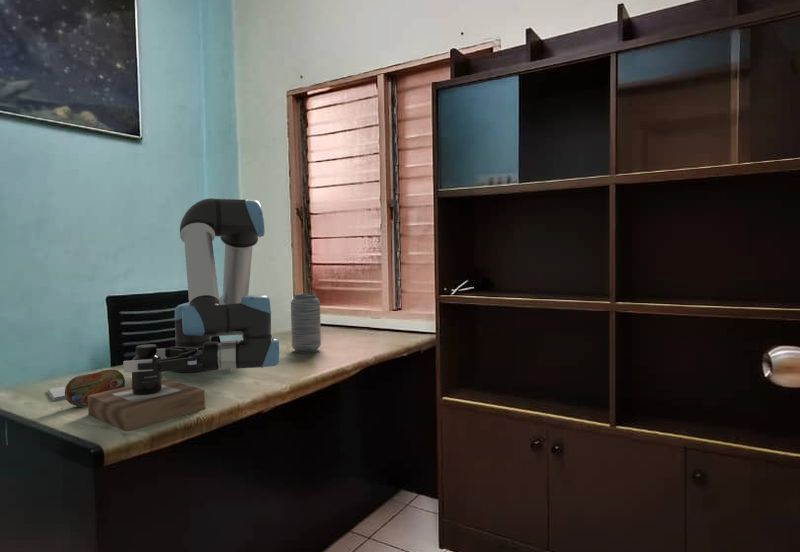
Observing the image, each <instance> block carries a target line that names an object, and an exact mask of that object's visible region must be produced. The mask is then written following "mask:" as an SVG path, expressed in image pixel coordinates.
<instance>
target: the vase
mask: <svg viewBox="0 0 800 552" xmlns="http://www.w3.org/2000/svg"><path fill="white" fill-rule="evenodd" d="M290 329H291V347H292V349H293V350H295V353H298V354H311V353H316V352H317V351H318V349H319V348H320V347H321V345H322V336H321V335H322V334H321V333H322V332H321V301H320V299H319V298H318V297H317V294H315V293H298V294H294V297H293V299H292V300H291V302H290Z"/></svg>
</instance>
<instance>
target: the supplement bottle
mask: <svg viewBox="0 0 800 552" xmlns="http://www.w3.org/2000/svg"><path fill="white" fill-rule="evenodd" d="M157 349H158V348H157V344H152V343H151V344H150V343H149V344H140V345H137V346H135V354H136V355H135V356H134V357H133V358H132V360H149V359H152V358H156V360H159V359H161V358H160V356H158V355H157V354H156V352H157ZM162 379H163V378H162V372H159V373H154V371H142V372H131V386H132V392H133V393H134V394H136V395H148V394H154V393H157V392H159V391H160V390H161V389H162Z"/></svg>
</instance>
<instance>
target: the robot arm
mask: <svg viewBox="0 0 800 552" xmlns="http://www.w3.org/2000/svg"><path fill="white" fill-rule="evenodd" d="M265 232H266V231H265V219H264V213H263V210H262V205H261V203H260V202H259V201H258V200H256V199H247V198H244V199H238V198H237V199H235V198H215V197H214V198H205V199H202V200H199V201H196V203H193V205H192V206H191V207H189V208H188V209H187V210H186V212H185V213H184V215H183V217H182V219H181V222H180V225H179V238H180V240H181V241H182V243H184V252H185V253H184V255H185V267H186V269H185V270H186V279H187V280H186V281H187V292H188V302H185V303H182V304H178V305H177V306H175V308H174V319H173V320H174V330H175V334H174V336H175V337H174V338H175V346H174V345H173V346H170V347H167V348H157V352H156V354H157V355H158V356H160V358H161V359H159V360H156V358H152V359H149V360H133V359H131V360H124V361H123V363H122V364H123V373H124V374H126V373H132V372H142V371H154V373H159V372H161V373H164V372H171V371H172V372H174V373H197V372H198V373H199V372H204V371H205V372H206V371H207V372H209V371H210V372H211V371H218V370H220V369H221V370H223V371H224V370H229V371H230V372H233V371H234V370H235V369H254V368H255V369H256V368H261V369H264V368H268V367H275V366H278V364H279V363H280V339H278V338H274V337H272V336H273V335H272V310H271V308H272V307H271V299H270V298H269V296H268V295H265V294H253V295H252V294H251V295H250V294H249V291H250V282H251V281H250V279H251V269H252V268H251V267H252V258H253V247H254V246H255V245H257V243H258V241H259V238H262V237H264V236H265ZM215 237H220V240H221V242H222V243H223V244H224V258H223V259H224V262H223V263H224V264H223V282H222V283H223V284H222V295H220V294H219V287H218V286H219V285H218V278H217V269H216V262H215V254H214V253H215V252H214V245H213V244H214V243H213V241H214V240H215ZM219 295H220V296H219ZM237 335H238V336H242V339H241V340H238V339H237V340H221V342H219V341H212V338H213V337H223V336H226V337H227V336H237Z"/></svg>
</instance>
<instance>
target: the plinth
mask: <svg viewBox="0 0 800 552" xmlns="http://www.w3.org/2000/svg"><path fill="white" fill-rule="evenodd" d="M205 397H206V396H205V389H203V388H201V387H196V386H194V385H189V384H186V383H183V382H178V381H175V380H171V379H168V378H162V389H161V390H160V391H159V392H157V393H154V394H148V395H136V394H134V393H133V392H132V385H128V386H124V387H123V388H119V389H114V390H110V391H105V392H101V393H96V394H92V395H88V406H87V410H88V411H87V413H88V414H87V415H88V416H91V417H93V418H95V419H97V420H99V421H102V422H104V423H106V424H108V425H112V426H114V427H115V428H118V429H121V430H122V431H125V432H129V431H133V430H135V429H138V428H139V429H140V428H142V427H146V426H150V425H152V424H156V423H159V422H162V421H166V420H170V419H173V418H177V417H180V416H183V415H184V416H185V415H187V414H191V413H194V412H198V411H200V410H204V409H206V404H205V403H206V400H205V399H206V398H205Z"/></svg>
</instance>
